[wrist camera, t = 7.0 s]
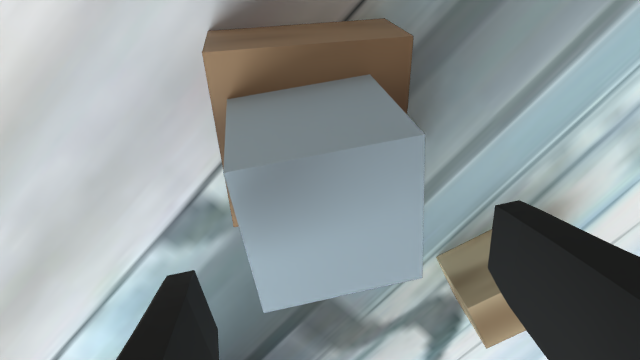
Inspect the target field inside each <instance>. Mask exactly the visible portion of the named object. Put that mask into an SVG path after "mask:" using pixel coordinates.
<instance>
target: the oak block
mask: <svg viewBox="0 0 640 360" xmlns="http://www.w3.org/2000/svg"><path fill="white" fill-rule="evenodd" d="M491 235H492V230H489V231H487V232H485V233H483V234H481V235H479V236H477V237H475V238H473V239H471V240H469V241H467V242H465V243H463V244H461V245H459V246H457V247H455V248H453V249H451V250H449V251H447V252H445V253H443V254H441V255H439V256H437V257H436V258H437V260H438V262H439V264H440V266H441V268H442V270H443V272H444V274H445V277H446V279H447V281H448V283H449V285H450V287H451V289H452V291H453V293H454V295H455V297H456V299H457V300H458V302H459V304H460V305H461V307H462V309H463V310H464V312H465V314H466V315H467V317H468V319H469V320H470V322H471V324H472V325H473V327H474V329H475V330H476V332H477V334H478V335H479V337H480V339H481V340H482V342H483V344H484V345H485V347H486V349H487V348H489V347H491V346H493V345H495V344H498V343H500V342H502V341H504V340H506V339H508V338H511V337H513V336H515V335H517V334H519V333H521V332H523V331H526V329H525V328H524V326H523V325H522V323H521V322H520V321H519V319H518V318H517V317H516V315H515V314H514V312H513V311H512V310H511V308H510V307H509V305H508V304H507V302H506V300H505V299H504V297H503V295H502V294H501V292H500V290H499V288H498V287H497V285H496V283H495V281H494V279H493V277H492V275H491V273H490V272H489V270H488V260H489V252H490V244H491Z"/></svg>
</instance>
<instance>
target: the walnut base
mask: <svg viewBox="0 0 640 360" xmlns="http://www.w3.org/2000/svg"><path fill="white" fill-rule="evenodd" d="M412 48H413V36H412V35H411V34H409V33H408V32H406V31H404V30H403V29H401V28H399V27H398V26H396V25H394V24H393V23H391V22H390V21H388V20H386V19H385V18H384V19H370V20H356V21H341V22H327V23H313V24H299V25H285V26H271V27H257V28H243V29H229V30H215V31H208V32H207V36H206V40H205V44H204V47H203V51H202V55H203V60H204V66H205V71H206V77H207V82H208V88H209V93H210V99H211V104H212V110H213V115H214V121H215V126H216V132H217V137H218V143H219V148H220V154H221V159H222V165H223V170H224V149H225V128H226V107H227V99H232V98H238V97H243V96H249V95H255V94H260V93H266V92H272V91H277V90H283V89H289V88H295V87H300V86H306V85H312V84H317V83H323V82H329V81H334V80H340V79H346V78H351V77H357V76H363V75H368V74H370V75H371V76H372V77H373V78H374V79H375V80H376V82H377V83H378V84H379V85H380V86H381V87H382V88H383V89H384V90H385V91H386V92H387V94H388V95H389V96H390V97H391V98H392V99H393V100H394V101H395V102H396V103H397V104H398V105H399V107H400V108H401V109H402V110H403V111H404V112H405V113H406V114H407V108H408V96H409V84H410V72H411V60H412ZM225 181H226V180H225ZM226 187H227V184H226ZM227 192H228V198H229V203H230V209H231V215H232V220H233V226H234V227H238V226H239V225H238V222H237V219H236V215H235V212H234V208H233V205H232V201H231V198H230V194H229V191H228V187H227Z"/></svg>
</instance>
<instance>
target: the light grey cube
mask: <svg viewBox="0 0 640 360" xmlns="http://www.w3.org/2000/svg"><path fill="white" fill-rule="evenodd" d="M424 164H425V134H424V133H423V132H422V130H421V129H420V128H419V127H418V126H417V125H416V124H415V123H414V122H413V121H412V120H411V119H410V117H409V116H408V115H407V114H406V113H405V112H404V111H403V110H402V109H401V108H400V107H399V105H398V104H397V103H396V102H395V101H394V100H393V99H392V98H391V97H390V96H389V95H388V94H387V92H386V91H385V90H384V89H383V88H382V87H381V86H380V85H379V84H378V83H377V82H376V80H375V79H374V78H373V77H372V76H371V75H370V74H368V75H363V76H357V77H351V78H346V79H340V80H334V81H329V82H323V83H317V84H312V85H306V86H300V87H295V88H289V89H283V90H277V91H272V92H266V93H260V94H255V95H249V96H243V97H238V98H232V99H227V107H226V128H225V149H224V170H223V173H224V177H225V180H226V184H227V187H228V191H229V194H230V198H231V201H232V205H233V208H234V212H235V215H236V219H237V222H238V225H239V229H240V232H241V236H242V239H243V243H244V246H245V250H246V253H247V257H248V260H249V264H250V267H251V271H252V274H253V278H254V281H255V285H256V288H257V291H258V295H259V298H260V302H261V305H262V309H263V312H264V313H267V312H271V311H276V310H280V309H285V308H289V307H294V306H298V305H303V304H307V303H312V302H316V301H321V300H325V299H330V298H334V297H339V296H343V295H348V294H352V293H357V292H361V291H366V290H370V289H375V288H379V287H384V286H388V285H393V284H397V283H402V282H406V281H411V280H415V279H420V278H422V269H423V217H424Z"/></svg>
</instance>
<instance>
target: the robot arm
mask: <svg viewBox="0 0 640 360" xmlns="http://www.w3.org/2000/svg"><path fill="white" fill-rule="evenodd" d="M488 270H489V272H490V273H491V275H492V277H493V279H494V281H495V283H496V285H497V287H498V288H499V290H500V292H501V294H502V295H503V297H504V299H505V300H506V302H507V304H508V305H509V307H510V308H511V310H512V311H513V312H514V314H515V315H516V317H517V318H518V319H519V321H520V322H521V323H522V325H523V326H524V328H525V329H526V330H527V332H528V333H529V334H530V336H531V337H532V338H533V340H534V341H535V342H536V344H537V345H538V346H539V348H540V349H541V351H542V352H543V353H544V355H545V356H546V357H547V359H548V360H640V257H638V256H636V255H634V254H632V253H630V252H627V251H625V250H623V249H621V248H619V247H616V246H614V245H612V244H610V243H608V242H606V241H604V240H602V239H599V238H597V237H595V236H593V235H591V234H589V233H587V232H585V231H583V230H581V229H579V228H577V227H575V226H573V225H571V224H569V223H566V222H564V221H562V220H560V219H558V218H556V217H554V216H552V215H550V214H548V213H546V212H544V211H542V210H540V209H537V208H535V207H533V206H531V205H529V204H526V203H524V202H522V201H514V202H509V203H505V204H500V205H495V211H494V219H493V227H492V235H491V244H490V252H489V260H488ZM116 360H219V350H218V329H217V326H216V324H215V321H214V319H213V316H212V314H211V311H210V309H209V306H208V304H207V301H206V298H205V296H204V293H203V291H202V288H201V286H200V283H199V281H198V278H197V276H196V273H195V271H194V270H192V271H188V272H183V273H178V274H174V275H169V276H167V277H166V278H165V280H164V281H163V283H162V285H161V286H160V288H159V290H158V291H157V293H156V295H155V296H154V298H153V300H152V302H151V303H150V305H149V307H148V308H147V310H146V312H145V314H144V315H143V317H142V319H141V320H140V322H139V324H138V325H137V327H136V329H135V330H134V332H133V334H132V335H131V337H130V338H129V340H128V342H127V343H126V345H125V346H124V348H123V349H122V351H121V353H120V354H119V356H118V357H117V359H116Z"/></svg>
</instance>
